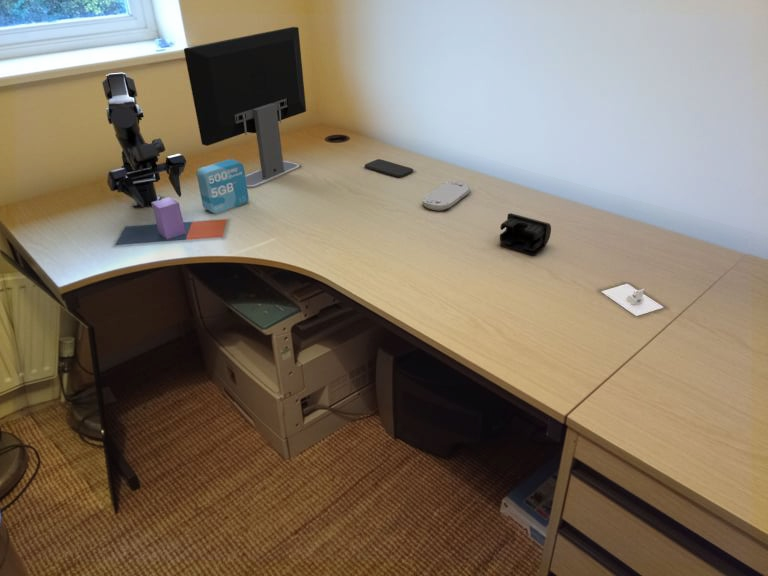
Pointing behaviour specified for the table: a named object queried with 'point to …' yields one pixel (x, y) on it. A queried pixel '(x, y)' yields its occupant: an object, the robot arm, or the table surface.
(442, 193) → the game console
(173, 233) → the block
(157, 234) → the mat
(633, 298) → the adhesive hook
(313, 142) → the table surface
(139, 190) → the robot arm
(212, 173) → the data package
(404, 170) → the phone
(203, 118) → the computer monitor
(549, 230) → the end cap
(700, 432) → the table surface
